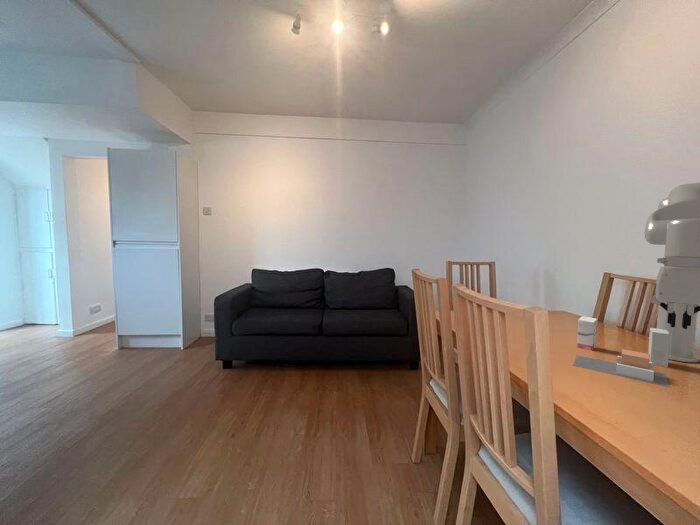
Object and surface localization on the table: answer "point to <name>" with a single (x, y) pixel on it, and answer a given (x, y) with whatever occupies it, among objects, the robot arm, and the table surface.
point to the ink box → (587, 333)
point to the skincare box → (659, 347)
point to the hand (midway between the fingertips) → (678, 326)
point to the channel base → (623, 370)
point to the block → (635, 359)
